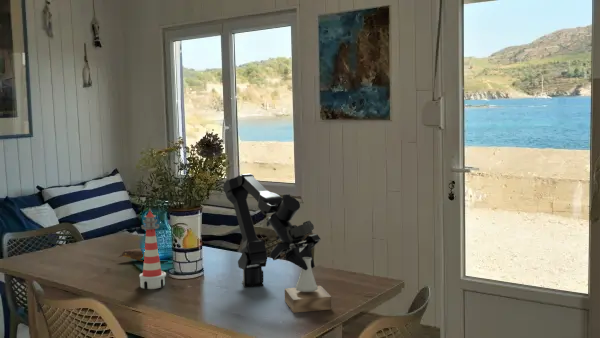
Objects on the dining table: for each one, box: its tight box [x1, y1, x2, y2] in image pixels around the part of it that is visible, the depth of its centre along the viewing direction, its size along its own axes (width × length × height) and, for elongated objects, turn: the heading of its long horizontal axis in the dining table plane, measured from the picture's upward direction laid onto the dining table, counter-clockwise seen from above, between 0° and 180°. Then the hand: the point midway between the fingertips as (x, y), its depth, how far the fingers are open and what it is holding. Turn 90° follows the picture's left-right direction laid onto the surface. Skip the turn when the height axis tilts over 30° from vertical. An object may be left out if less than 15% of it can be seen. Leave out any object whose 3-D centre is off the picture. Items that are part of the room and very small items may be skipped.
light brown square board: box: [284, 285, 332, 313], centre depth 194 cm, size 12×12×4 cm
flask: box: [295, 257, 318, 292], centre depth 193 cm, size 7×7×10 cm
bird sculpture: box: [117, 248, 144, 262], centre depth 252 cm, size 7×25×5 cm, turn 102°
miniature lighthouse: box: [138, 200, 167, 290], centre depth 215 cm, size 9×9×30 cm
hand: (310, 268), depth 192 cm, fingers closed on flask, 3 cm apart
